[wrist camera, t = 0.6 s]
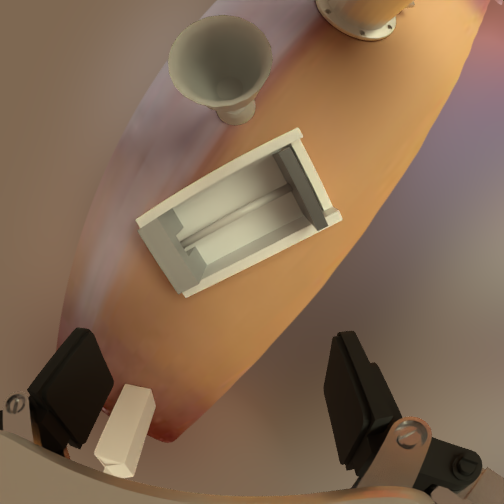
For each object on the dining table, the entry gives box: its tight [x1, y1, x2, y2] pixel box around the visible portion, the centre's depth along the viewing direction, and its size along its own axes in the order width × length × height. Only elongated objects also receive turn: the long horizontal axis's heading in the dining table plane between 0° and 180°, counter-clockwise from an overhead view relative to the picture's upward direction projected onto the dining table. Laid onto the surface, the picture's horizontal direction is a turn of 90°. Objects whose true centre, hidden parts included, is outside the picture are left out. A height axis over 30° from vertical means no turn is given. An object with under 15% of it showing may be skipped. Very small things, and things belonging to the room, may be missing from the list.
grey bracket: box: [136, 128, 343, 298], centre depth 32 cm, size 21×11×7 cm, turn 118°
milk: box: [94, 384, 156, 478], centre depth 38 cm, size 6×6×22 cm
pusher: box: [180, 147, 328, 248], centre depth 30 cm, size 17×8×9 cm, turn 118°
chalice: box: [168, 15, 273, 125], centre depth 22 cm, size 7×7×18 cm
